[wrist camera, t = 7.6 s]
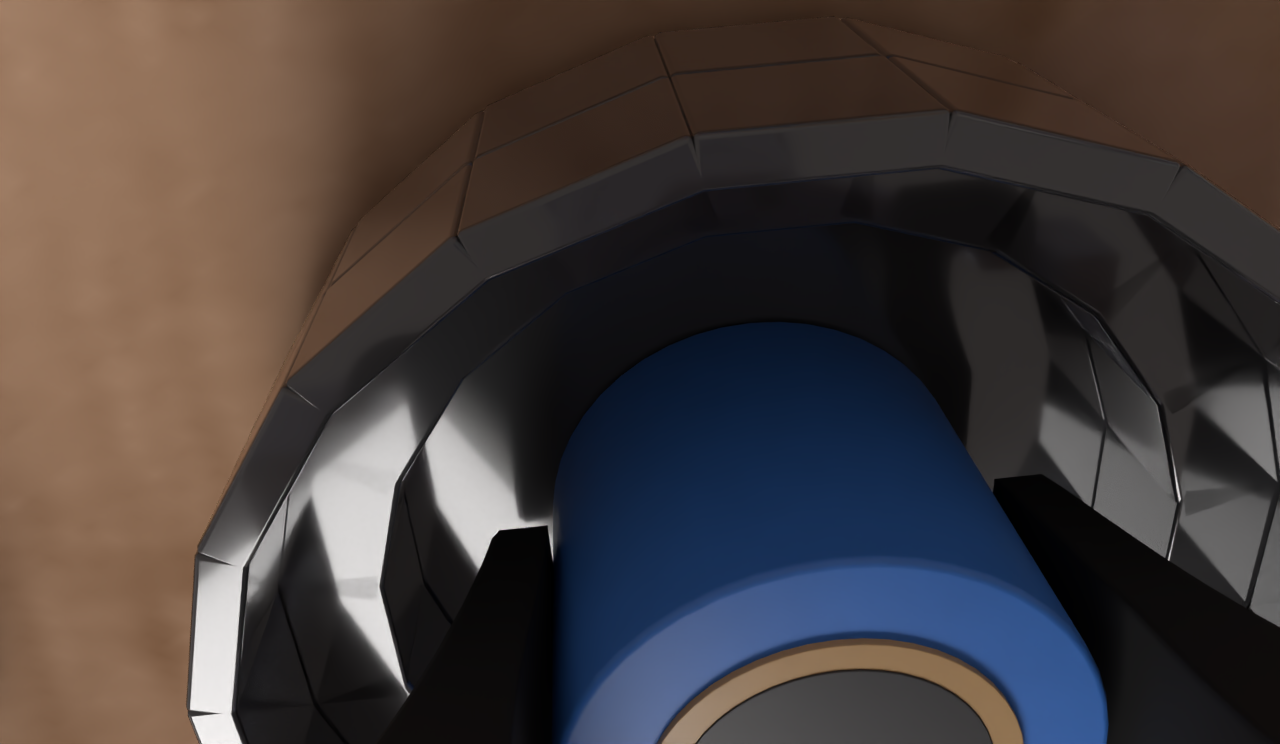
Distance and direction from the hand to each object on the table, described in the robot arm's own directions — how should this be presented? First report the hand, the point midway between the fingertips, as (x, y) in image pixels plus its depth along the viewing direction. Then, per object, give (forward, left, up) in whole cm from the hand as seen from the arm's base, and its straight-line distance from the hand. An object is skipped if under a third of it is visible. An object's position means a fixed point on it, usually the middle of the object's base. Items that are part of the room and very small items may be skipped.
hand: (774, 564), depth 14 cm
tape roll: (0, 0, -1) cm, 1 cm away
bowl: (0, 0, -2) cm, 2 cm away
